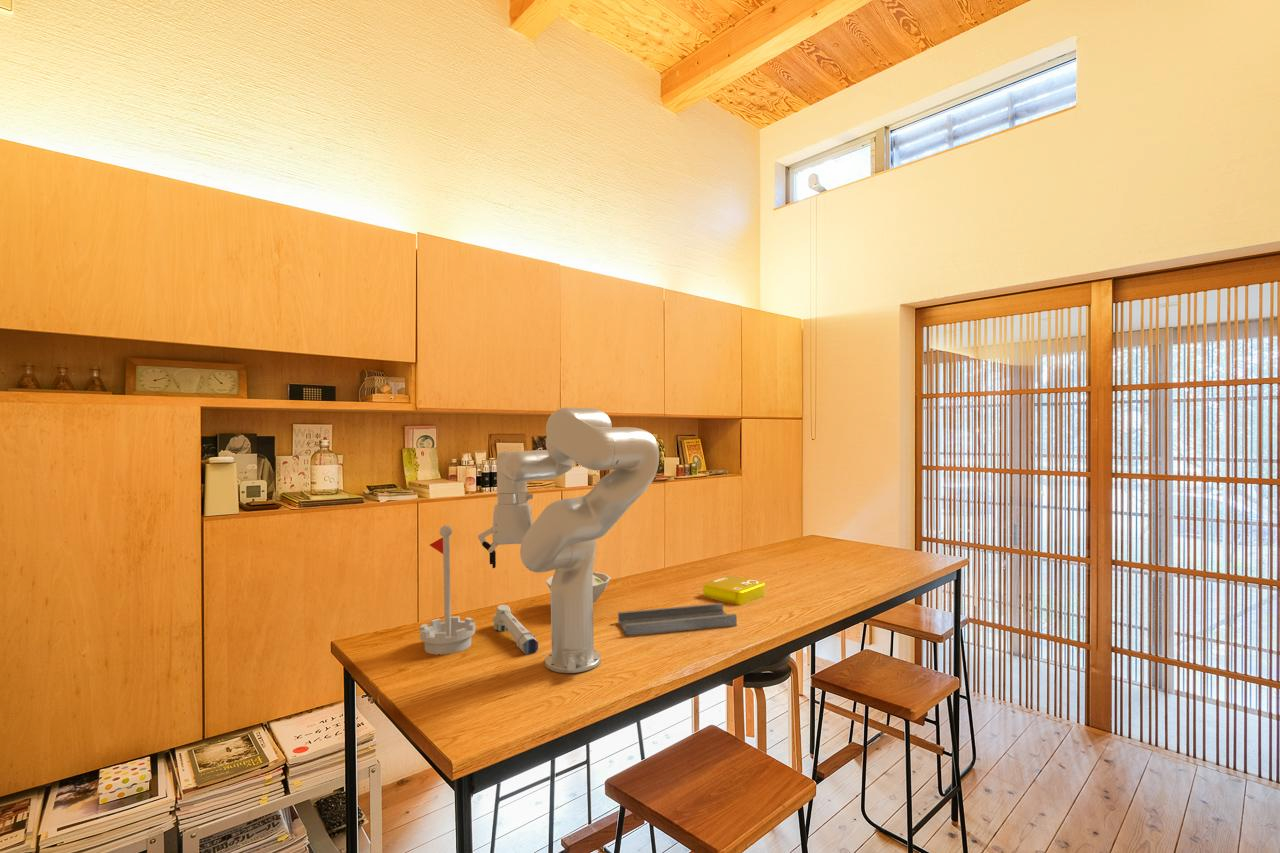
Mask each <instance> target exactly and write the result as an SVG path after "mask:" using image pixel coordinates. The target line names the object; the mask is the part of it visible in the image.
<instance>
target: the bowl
mask: <svg viewBox="0 0 1280 853" xmlns="http://www.w3.org/2000/svg"><path fill="white" fill-rule="evenodd" d="M552 578H553V575H551V576H550V577H548V578H547V579H546V580H545V583H546V585H547V586H548V588H549V590H550V591H551V582H552ZM610 581H611V576H609V575H608V574H607V573H603V572H598V571H597V572H596V571H593V604H595V603H596V601H598V599H599V598H600V597H601V596H602V594H603V592H604V591H605V590H606V589H607V587H608V585H609V583H610Z"/></svg>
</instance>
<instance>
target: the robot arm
mask: <svg viewBox="0 0 1280 853" xmlns="http://www.w3.org/2000/svg"><path fill="white" fill-rule="evenodd" d="M550 414H551V415H550V416H549V417H548V420H547V422H546V427H545V432H546V439H545V448H546V449H538V450H537V449H536V450H535V449H534V450H522V451H521V450H510V451H509V450H506V451H501V452H499V453H497V455H496V486H497V487H496V494H497V496H496V497H497V500H496V501H497V503H496V504H494V506H493V513H492V527H490V528H488V529H486V530H485V531H482V532H481V533H479V534H478V535H477V538H478V541H479V542H480V544H481V546H482V547H483V548H484V549H485V550H487V552H489V565H492V567H491V568H492V569H495V568H496V566H497V564H496V563H497V559H496V558H497V555H496V552H497V551H496V548H497V547H498V546H499V545H502V546H503V545H519V544H520V550H519V551H520V553H519V555H520V559H521V563H522V564H523V566H524V567H525V568H526V569H527V570H529V571H530V572H533V573H538V574H539V573H546V572H551V571H554V570H555V571H554V573H553V575H552V576H553V578H552V582H551V590H550V623H551V624H550V626H551V629H550V630H551V637H550V638H551V653H549V654H547V655H546V656H545V658H544V666H545V667H546V668H547V669H548V670H550V671H553V672H555V673H560V674H561V673H562V674H577V673H582V672H583V673H584V672H587V671H590V670H593V669H595V668H596V667H598V666H599V665H600V663H601V661H602V660H601V659H602V656H601V654H600V652H598V651H597V650H595V648H594V603H593V572H594V565H595V563H594V562H595V557H596V552H597V540H598V539H601V538H602V537H604V536H606V534H607V533H608V532H609V531H610V530H611V529H612V528H613V527H614V526H615V525H616V523H618V521H619V520H620V519H621V518H622V517H623V516H624V514H625V513H626V512H627V511H628V509H630V507H631V506H632V505H633V504H634V503H635V502H636V501H637V500H638V499H639V498H640V497H641V496H642V495H643V494H644V493H645V491H646V490H648V488H650V486H651V484H652V482H653V481H654V479H655V477H656V474H657V472H658V468H659V462H660V449H659V445H658V444H659V443H658V441H657V440H656V437H655V436H654V435H653V434H652V433H650V432H649V431H647V430H645V429H643V428H639V427H631V426H629V427H628V426H623V427H621V426H620V427H619V426H618V427H616V426H615V427H614V426H613V424H612V421H611V418H610V417H609V415H608V414H607V413H605V412H604V411H603V410H601V409H598V408H593V407H561V408H558V409H557V410H555V411H554V412H552V413H550ZM612 426H613V427H612ZM576 463H577V464H579V465H580V466H582V467H584V468H585V469H586V470H587V469H588V470H592V471H609V470H611V471H610V472H608V473H607V474H606V475H604V476H603V477H601V478H600V479H599V480H598V481H597V482H596V483H595V485H594V486H593V488H591V490H590V491H589V492H588V493H587V494H585V495H581V496H578V497H570V498H563V499H559V500H555V501H554V502H551V503H550V504H548V505H547V506H546V507H545V508H544V509H543V510H542V511H541V513H540V514H539V515H538V516H537V518H536V520H534V522H533V513H532V512H533V511H532V507H531V503H530V502H528V501H530V500H533V499H534V496H533V495H534V494H533V493H529V492H528V482H534V481H543V480H544V481H545V480H553V479H555V478H558V477H561V476H562V475H564V474H566V473H568V472H569V471H571V470H572V469H573V467H574V466H575V465H576ZM489 535H492V543H491V544H490V543H489V542H488V541H487V540H486V537H488V536H489Z"/></svg>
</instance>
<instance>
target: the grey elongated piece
mask: <svg viewBox="0 0 1280 853" xmlns="http://www.w3.org/2000/svg"><path fill="white" fill-rule="evenodd" d="M511 611H512V610H511V607H510V606H509V605H507V604H499V605H497V608H496V610H495V614H494V615H493V617H492V622H493V629H494V631H499V632H505V631H506V630H507V631H508V632H509V634H510V635H511V637H512V638H513V639H514V641H515V643H516V646H517V648H518V649H519V650H521V651H522V652H523V653H524V654H525V655H531V654H535V653H536V652H537V651H538V650H539V642H538V641H537V639H536V636H535V635H534V634H533V633H532V632H531V631H529V630H528V629H526V627H525V626H524V625H523V624H522V623H521V622H520V621H519V620H518V619H517V618H516V617H515V616H514V615H513V614H512V613H511Z"/></svg>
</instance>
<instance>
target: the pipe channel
mask: <svg viewBox="0 0 1280 853" xmlns="http://www.w3.org/2000/svg"><path fill="white" fill-rule="evenodd" d="M617 618H618V619H617V623H618V625H619V624H620V625H619V626H620V628H621V630H622V631H624V632H623V633H624V636H625V637H627V638H628V637H635V636H636V637H637V636H644V635H645V636H647V635H654V634H665V633H666V634H667V633H676V631H678V632H685V631H686V630H688V631H696V630H695V629H698V630H706V629H705V628H708V629H714V627H718V628H725V627H726V628H727V626H728V627H736V626H737V625H738V623H737V614H736V613H731V614H730V613H729V614H728V613H726V611H724V603H722V602H718V603H717V602H716V603H708V604H707V603H706V604H697V605H686V606H685V605H684V606H674V607H673V606H672V607H660V608H650V609H641V610H640V609H639V610H631V611H629V610H628V611H619V612H617Z"/></svg>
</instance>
